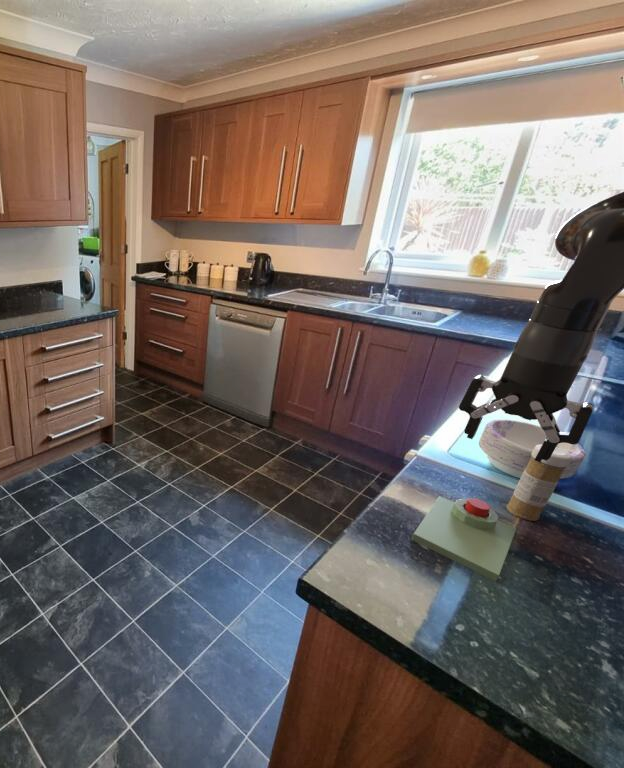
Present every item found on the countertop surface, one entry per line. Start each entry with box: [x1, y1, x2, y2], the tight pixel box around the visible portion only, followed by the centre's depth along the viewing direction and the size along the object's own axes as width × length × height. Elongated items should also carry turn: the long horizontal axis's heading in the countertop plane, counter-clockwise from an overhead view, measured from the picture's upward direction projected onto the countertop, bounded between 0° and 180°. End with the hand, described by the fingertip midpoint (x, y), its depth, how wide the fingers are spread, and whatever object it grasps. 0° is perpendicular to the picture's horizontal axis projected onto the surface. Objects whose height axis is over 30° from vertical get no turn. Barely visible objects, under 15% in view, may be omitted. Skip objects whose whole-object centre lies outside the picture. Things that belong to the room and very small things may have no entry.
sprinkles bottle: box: [505, 444, 572, 522], centre depth 74 cm, size 5×5×14 cm
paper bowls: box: [478, 419, 587, 480], centre depth 88 cm, size 15×15×8 cm
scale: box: [411, 495, 517, 582], centre depth 70 cm, size 16×11×3 cm
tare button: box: [465, 497, 491, 518], centre depth 72 cm, size 3×3×2 cm
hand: (502, 447), depth 69 cm, fingers open, 8 cm apart
